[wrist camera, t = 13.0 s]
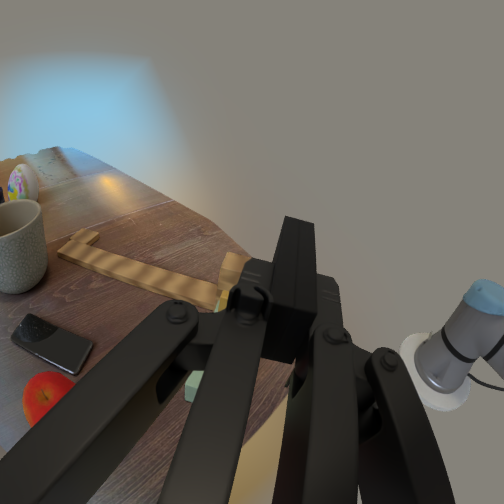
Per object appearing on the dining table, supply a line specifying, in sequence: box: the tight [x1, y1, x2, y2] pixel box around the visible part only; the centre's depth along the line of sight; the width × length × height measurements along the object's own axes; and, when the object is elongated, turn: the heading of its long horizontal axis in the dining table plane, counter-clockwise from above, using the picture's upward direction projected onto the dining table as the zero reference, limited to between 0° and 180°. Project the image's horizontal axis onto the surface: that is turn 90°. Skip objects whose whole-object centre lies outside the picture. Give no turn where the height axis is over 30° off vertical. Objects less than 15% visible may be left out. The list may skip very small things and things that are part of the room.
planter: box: [0, 199, 48, 294], centre depth 41 cm, size 17×17×15 cm
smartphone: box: [11, 313, 93, 375], centre depth 35 cm, size 7×1×16 cm
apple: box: [22, 371, 75, 428], centre depth 23 cm, size 9×9×12 cm
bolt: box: [218, 290, 229, 312], centre depth 43 cm, size 3×13×9 cm, turn 170°
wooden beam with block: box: [57, 228, 251, 313], centre depth 54 cm, size 49×14×12 cm, turn 80°
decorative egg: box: [8, 164, 39, 201], centre depth 65 cm, size 12×12×15 cm
